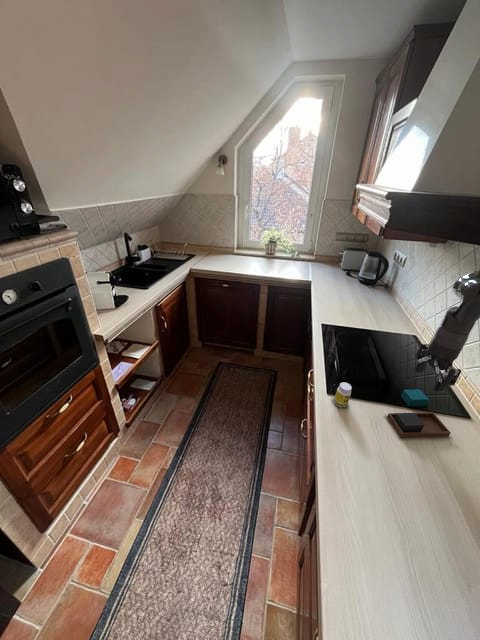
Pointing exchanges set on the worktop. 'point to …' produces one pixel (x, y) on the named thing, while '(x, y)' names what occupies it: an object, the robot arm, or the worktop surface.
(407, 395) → the teal pad
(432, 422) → the pad frame
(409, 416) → the black block
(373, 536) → the worktop surface
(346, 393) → the supplement bottle
